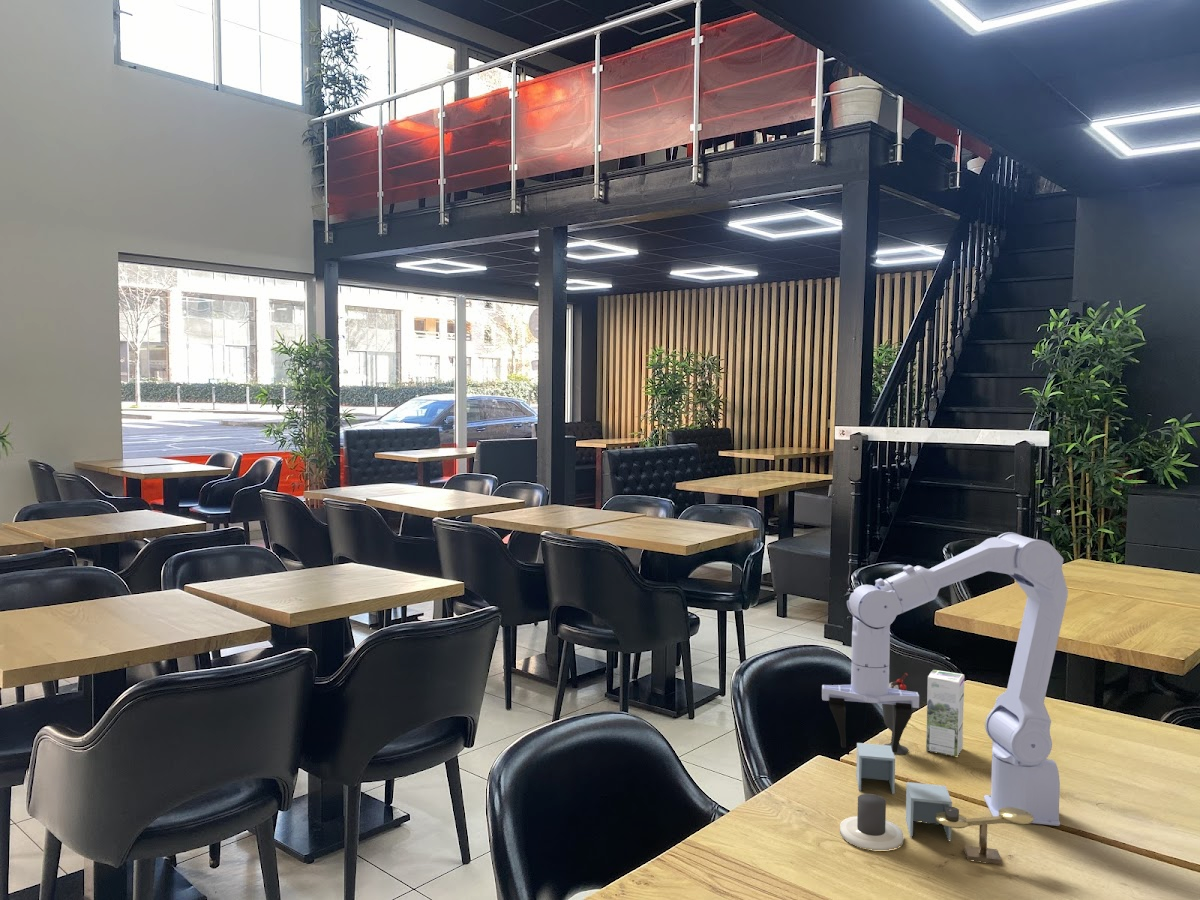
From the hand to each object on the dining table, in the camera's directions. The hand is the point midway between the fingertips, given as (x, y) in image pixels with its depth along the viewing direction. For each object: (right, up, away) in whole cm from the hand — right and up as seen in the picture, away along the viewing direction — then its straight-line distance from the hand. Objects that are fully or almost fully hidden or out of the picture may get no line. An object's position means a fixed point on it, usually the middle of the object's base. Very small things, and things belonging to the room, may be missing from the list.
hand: (868, 747), depth 135 cm
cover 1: (+4, -10, +10) cm, 15 cm away
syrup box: (+22, -10, +26) cm, 36 cm away
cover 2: (+7, -11, -5) cm, 14 cm away
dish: (-2, -11, -7) cm, 13 cm away
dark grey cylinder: (-2, -10, -7) cm, 12 cm away
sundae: (+13, -10, +26) cm, 31 cm away
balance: (+12, -11, -13) cm, 21 cm away
